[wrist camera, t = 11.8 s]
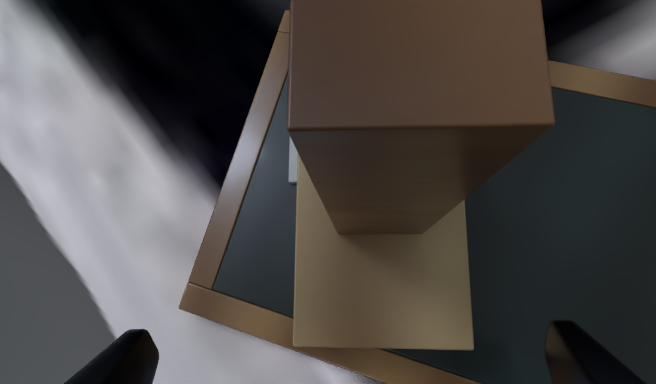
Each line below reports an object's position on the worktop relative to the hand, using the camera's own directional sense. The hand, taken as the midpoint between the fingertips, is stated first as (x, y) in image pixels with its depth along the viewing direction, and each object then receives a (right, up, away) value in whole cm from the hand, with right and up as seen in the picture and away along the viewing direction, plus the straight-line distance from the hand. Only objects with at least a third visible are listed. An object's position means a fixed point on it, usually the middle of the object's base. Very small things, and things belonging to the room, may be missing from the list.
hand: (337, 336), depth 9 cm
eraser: (+2, +3, +8) cm, 9 cm away
